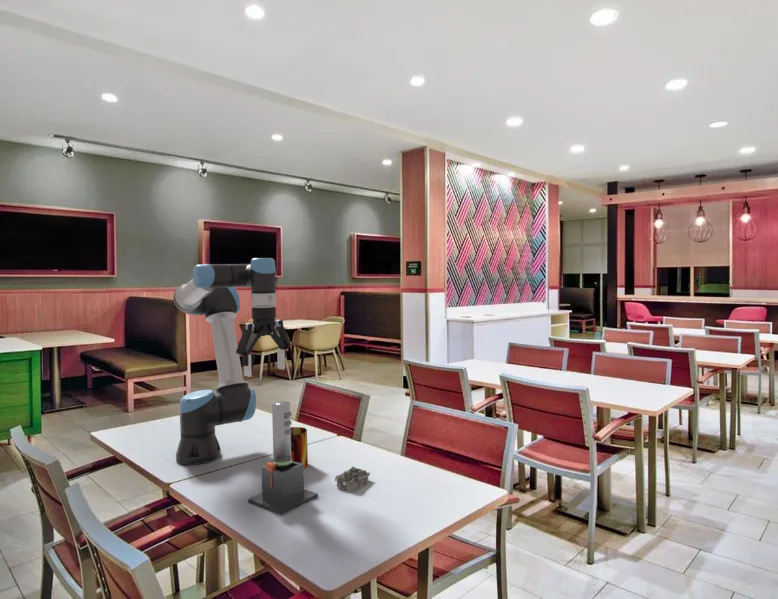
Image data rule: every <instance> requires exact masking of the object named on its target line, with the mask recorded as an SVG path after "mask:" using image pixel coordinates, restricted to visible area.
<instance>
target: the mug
mask: <svg viewBox="0 0 778 599" xmlns="http://www.w3.org/2000/svg"><path fill="white" fill-rule="evenodd" d="M290 429H291V430H292V433H291V458H292V461H294V462H298V463H301V464H304V469H306V468H308V466H309V464H308V463H309V460H308V458H309V457H308V430H307V428H305V427H303V426H290Z"/></svg>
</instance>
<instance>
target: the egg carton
mask: <svg viewBox="0 0 778 599" xmlns="http://www.w3.org/2000/svg"><path fill="white" fill-rule="evenodd" d="M370 474H371V472H370V471H369V472H368V471H367V470H366V469H365V470H363V469H362V468H357V467H355V466H352V467H350V468H349V469H348V470H345V471H344V472H342V473H340V474H337V475H336V476H335V477H334V481H335V482H336V487H337V489H338V490H342V489H345V490H346V491H347V492H352V491H354V492H355V491H357V490H358V488H359V487H361V488H362V487H363V484H365V483H366V484H367V483H369V476H370Z"/></svg>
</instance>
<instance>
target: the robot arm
mask: <svg viewBox="0 0 778 599" xmlns="http://www.w3.org/2000/svg"><path fill="white" fill-rule="evenodd" d="M276 271H277V270H276V261H275V259H274V258H272V257H253V258H252V259H251V260H250V263H240V264H239V263H236V264H235V263H231V264H229V263H228V264H227V263H224V264H223V263H221V264H219V263H216V264H215V263H212V264H210V263H204V264H196V265H194V267H193V270H192V279H190V280H189V281H188V282H187V283H183V284H182V285H180V286H178V287H177V288H176V290H175V291H174V293H173V303H174V305H175V307H176V308H177V309H178V310H179V311H181V312H182V313H184V314H187V315H191V316H205V321H206V323H207V322H208V323H209V324H210V329H211V336H212V342H213V347H214V348H213V349H214V355H215V362H216V367H217V374H218V380H219V384H218V386H217V387H216V388H215V389H216V390H215V392H216V393H215V392H214V390H213V389H204V390H203V389H201V390H196V391H195V390H194V391H192V392H189V393H187V394H185V395H183V396H182V397H181V398H180V400H179V410H178V412H179V426H180V429H179V430H180V440H179V442H178V447H177V450H176V453H175V461H176V462H177V463H178V464H181V465H185V466H186V465H188V466H190V465H191V466H192V465H193V466H194V465H200V464H207V463H211V462H213V461H215V460H218V459H219V458H220V457H221V456H222V448H221V445H220V443H219V440H218V438H217V434H216V427H217V426H222V425H226V424H233V423H238V422H239V423H242V422H243V421H248V420H251V419H252V418H253V416H254V415H255V412H256V408H257V394H256V391H255V389H254V388H253V387H249V382H247V381H246V380H244V377H248V378H250V377H252V355H251V354H250V353H251V351H252V350H253V348H254V347H255V345H256V343H257V342H258V340H259V339H260V338H261V337H265V336H270V338H271V339H272V340H273V341H274V343H275V344H276V345H277V347H278V348H277V353H276V354H277V358H276V359H277V360H276V361H277V369H279V370H285V369H286V366H285V365H286V364H285V363H286V361H285V360H286V358H287V350H288V349H289V348H290V347H291V345H292V344H291V341H290V339H289V337H288V334H287V332H286V329H285V327H284V321H283V319H276V318H277V307H276V303H277V300H276V299H277V298H276V297H277V296H276V295H277V294H276ZM248 287H249V288H251V289H250V290H251V294H250V295H251V297H250V298H251V306H252V308H251V318H252V323H251V322H249V323H248V322H245V323H244V325H243V326H244V327H243V331H242V335H241V337H240V340H239V343H238V340H237V335H236V326H235V321H234V320H235V318H237V316H238V315H237V314H238V313H239V312H240V310H241V300H240V299H241V298H240V295H239V292H238V290H237V289H236V288H248ZM275 328H276V329H275ZM240 356H241V359H240ZM242 367H243V370H242ZM243 376H244V377H243Z"/></svg>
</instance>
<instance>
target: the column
mask: <svg viewBox="0 0 778 599" xmlns="http://www.w3.org/2000/svg"><path fill="white" fill-rule="evenodd" d="M271 416H272V445H273V446H272V449H273V452H272V454H273V459H272V463H275V470H279V471H284V470H287V469H289V468H291V465H292V458H291V433H292V430H291V429H290V427H291V426H292V420H291V416H292V412H291V403H290V402H289V401H283V400H282V401H275V402H272V403H271Z"/></svg>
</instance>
